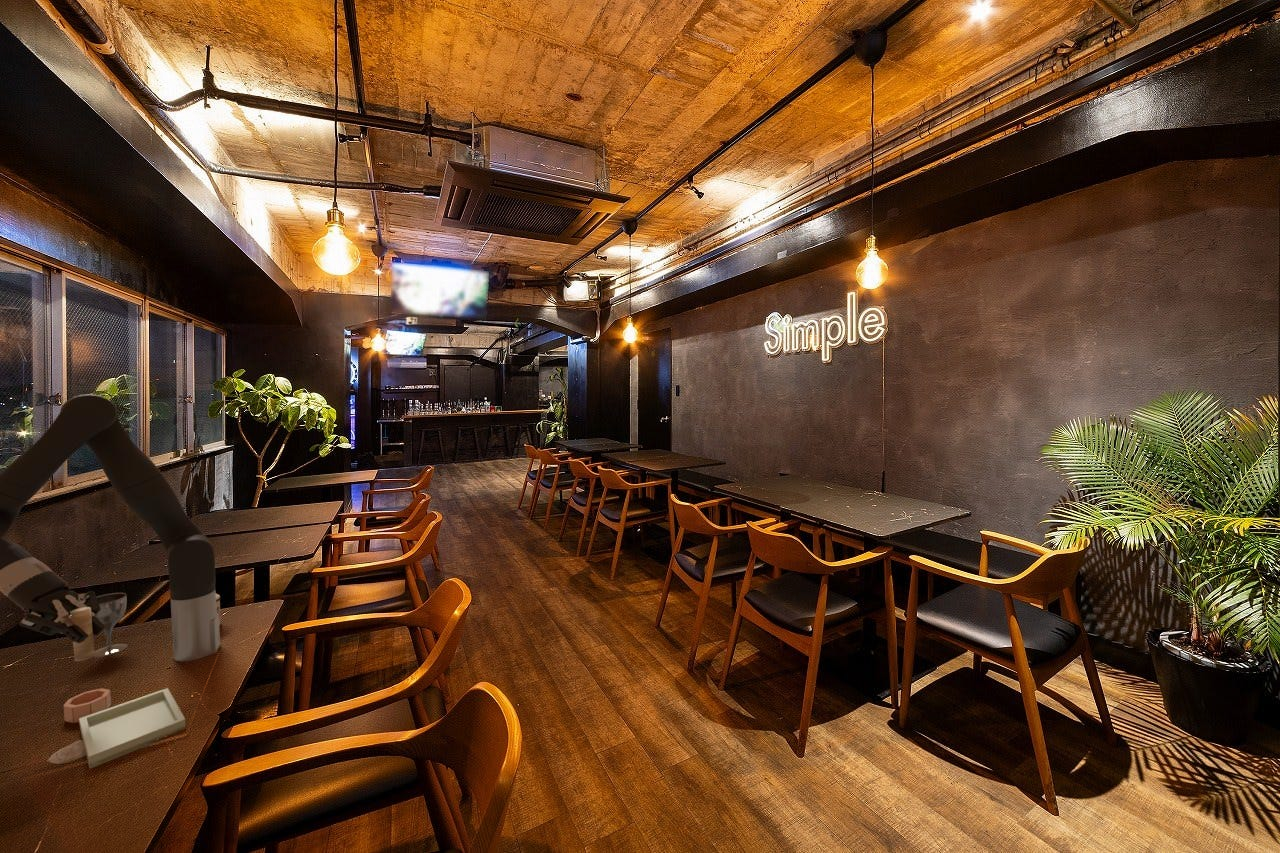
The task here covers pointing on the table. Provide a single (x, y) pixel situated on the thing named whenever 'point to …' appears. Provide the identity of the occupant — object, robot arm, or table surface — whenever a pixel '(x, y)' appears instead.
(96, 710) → the pin holder cup
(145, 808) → the table surface
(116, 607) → the wine glass
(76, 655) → the beech pin
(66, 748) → the flatbread
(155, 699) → the sage tray
